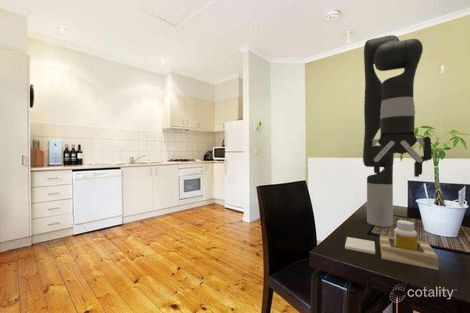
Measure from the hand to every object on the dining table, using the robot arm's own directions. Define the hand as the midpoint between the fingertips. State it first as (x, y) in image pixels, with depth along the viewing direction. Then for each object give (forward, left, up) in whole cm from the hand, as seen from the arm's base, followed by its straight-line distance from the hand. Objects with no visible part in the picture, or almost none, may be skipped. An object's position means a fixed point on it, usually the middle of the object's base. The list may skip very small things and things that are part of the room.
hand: (396, 175), depth 61 cm
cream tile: (-7, -9, -23) cm, 26 cm away
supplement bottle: (-6, +3, -24) cm, 24 cm away
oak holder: (-6, +3, -23) cm, 24 cm away
